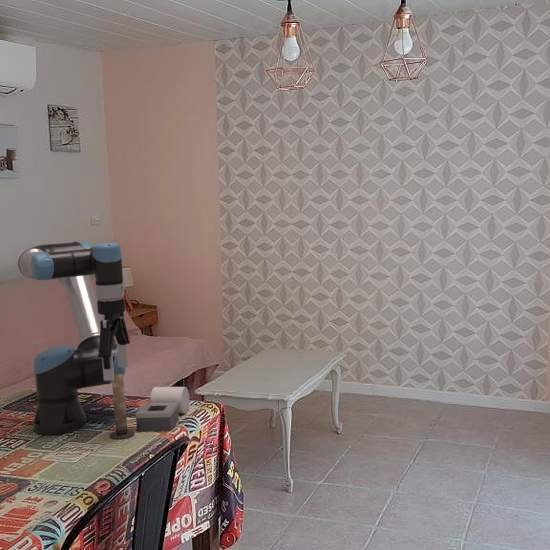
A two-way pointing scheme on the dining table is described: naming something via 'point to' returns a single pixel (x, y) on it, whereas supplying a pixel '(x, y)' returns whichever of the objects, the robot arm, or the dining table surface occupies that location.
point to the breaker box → (157, 417)
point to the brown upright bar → (119, 404)
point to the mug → (171, 397)
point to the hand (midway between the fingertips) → (116, 373)
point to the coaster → (117, 437)
